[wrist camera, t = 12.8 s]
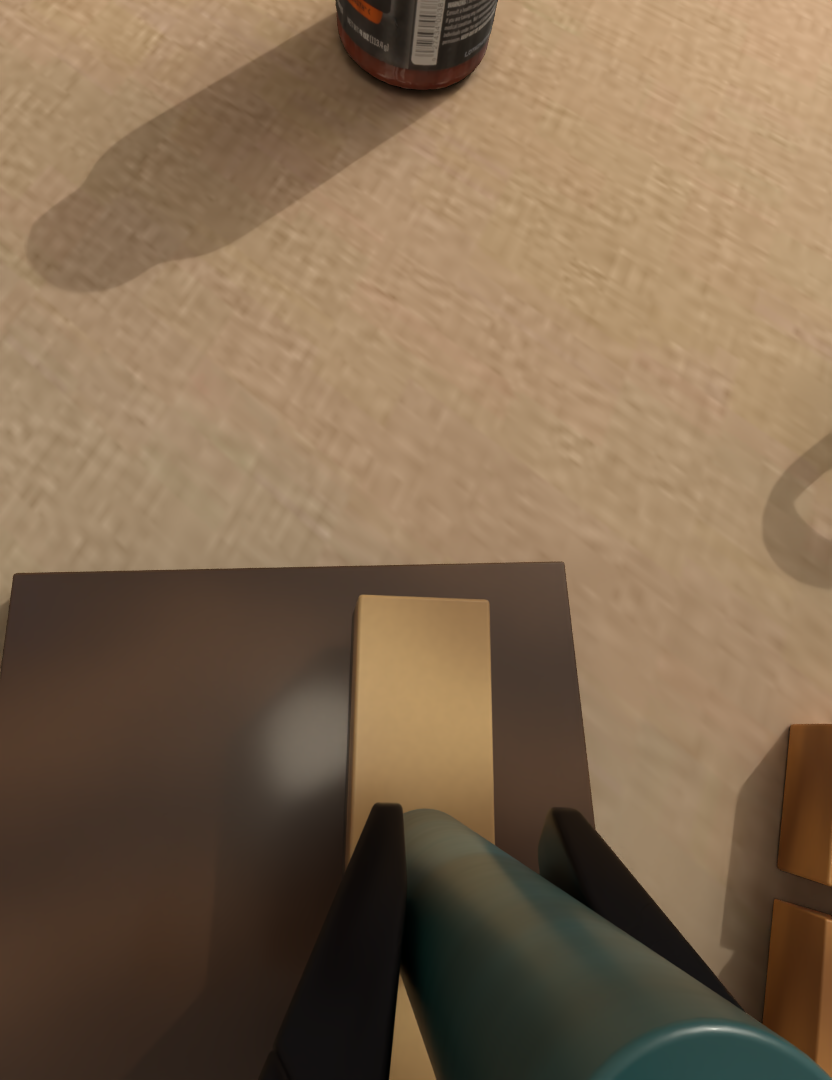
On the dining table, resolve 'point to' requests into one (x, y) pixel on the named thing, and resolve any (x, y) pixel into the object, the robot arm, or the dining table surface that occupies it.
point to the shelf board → (217, 795)
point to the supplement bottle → (416, 38)
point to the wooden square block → (808, 804)
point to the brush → (506, 894)
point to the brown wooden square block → (801, 980)
